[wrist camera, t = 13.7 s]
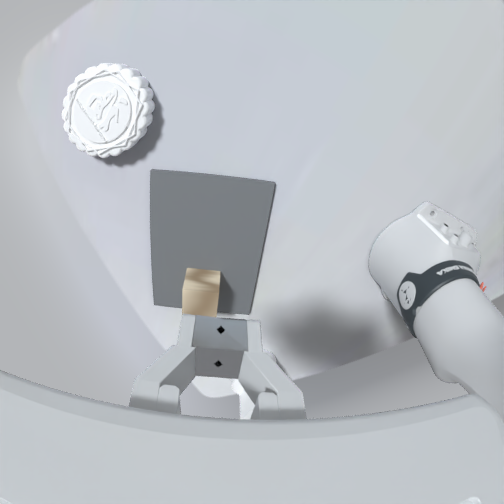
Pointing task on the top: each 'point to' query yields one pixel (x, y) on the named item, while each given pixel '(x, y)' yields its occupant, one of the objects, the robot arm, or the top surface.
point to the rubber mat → (207, 234)
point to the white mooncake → (108, 109)
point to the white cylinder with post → (245, 400)
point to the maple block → (200, 292)
